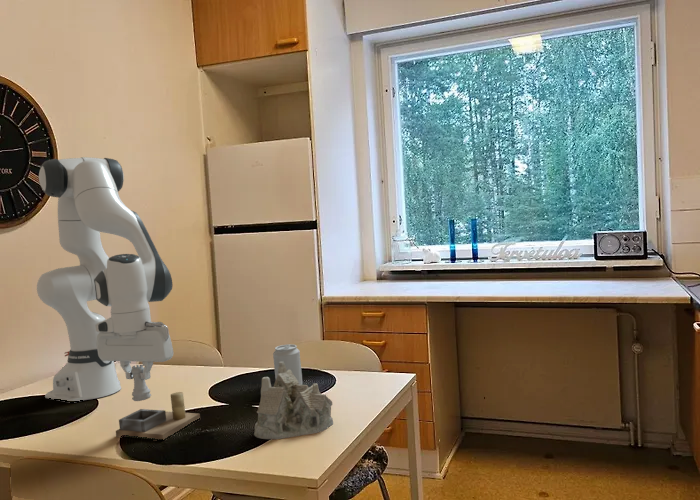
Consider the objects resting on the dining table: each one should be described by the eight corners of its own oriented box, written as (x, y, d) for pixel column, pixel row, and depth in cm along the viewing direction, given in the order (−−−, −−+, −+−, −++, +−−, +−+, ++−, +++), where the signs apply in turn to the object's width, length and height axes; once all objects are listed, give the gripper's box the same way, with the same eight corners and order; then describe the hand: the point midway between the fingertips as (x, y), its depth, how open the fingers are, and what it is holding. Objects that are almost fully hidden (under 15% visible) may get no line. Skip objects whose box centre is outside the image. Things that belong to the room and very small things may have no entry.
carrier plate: (116, 437, 148) (112, 406, 147) (155, 416, 161) (152, 388, 160) (163, 441, 143) (160, 409, 142) (200, 419, 155) (197, 390, 155)
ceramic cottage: (244, 434, 142) (242, 369, 141) (293, 413, 155) (292, 354, 154) (294, 450, 133) (292, 381, 131) (341, 427, 146) (341, 364, 144)
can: (271, 391, 174) (267, 349, 173) (284, 383, 181) (280, 343, 180) (295, 392, 171) (291, 349, 170) (307, 384, 178) (303, 343, 177)
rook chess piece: (134, 397, 152) (130, 365, 151) (153, 394, 152) (148, 362, 152) (130, 402, 147) (125, 369, 147) (149, 399, 148) (144, 366, 147)
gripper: (175, 318, 147) (181, 376, 148) (109, 319, 155) (115, 374, 156) (157, 324, 141) (164, 383, 142) (89, 325, 149) (96, 381, 150)
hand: (138, 378), depth 149 cm, fingers closed on rook chess piece, 3 cm apart
